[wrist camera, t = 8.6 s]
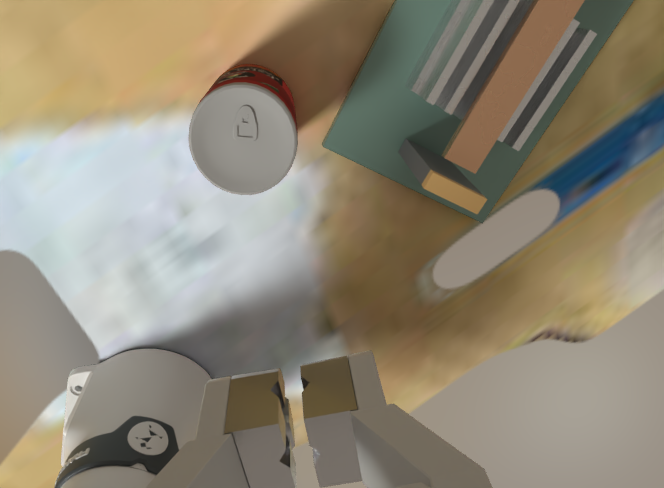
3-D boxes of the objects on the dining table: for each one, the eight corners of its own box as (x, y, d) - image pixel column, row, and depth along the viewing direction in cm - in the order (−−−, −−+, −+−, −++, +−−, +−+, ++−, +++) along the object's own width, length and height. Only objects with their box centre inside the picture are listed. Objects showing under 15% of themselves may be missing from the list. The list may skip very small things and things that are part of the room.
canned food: (285, 55, 44) (285, 73, 34) (302, 144, 47) (307, 185, 38) (197, 71, 44) (172, 95, 34) (221, 160, 47) (205, 204, 38)
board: (479, 219, 52) (523, 271, 43) (322, 143, 48) (331, 182, 38) (636, -15, 44) (736, -16, 34) (464, -137, 39) (523, -178, 29)
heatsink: (496, 135, 48) (523, 153, 42) (404, 85, 45) (420, 98, 39) (562, 31, 44) (601, 36, 39) (467, -30, 41) (495, -33, 36)
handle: (468, 168, 42) (475, 173, 41) (438, 152, 41) (444, 158, 40) (596, -39, 36) (609, -40, 35) (564, -61, 36) (576, -64, 34)
